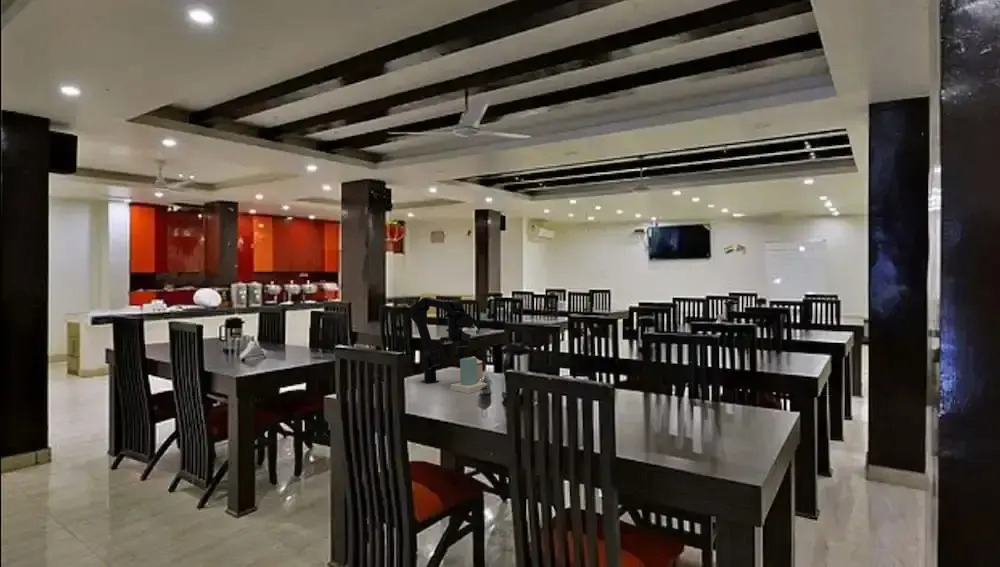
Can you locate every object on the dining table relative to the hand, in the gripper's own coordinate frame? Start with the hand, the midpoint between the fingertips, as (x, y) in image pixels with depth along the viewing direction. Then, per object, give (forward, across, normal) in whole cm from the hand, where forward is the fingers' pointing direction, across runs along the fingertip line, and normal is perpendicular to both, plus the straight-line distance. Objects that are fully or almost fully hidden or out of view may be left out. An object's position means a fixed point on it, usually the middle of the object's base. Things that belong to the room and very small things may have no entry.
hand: (454, 359), depth 285 cm
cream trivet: (+13, -10, -1) cm, 16 cm away
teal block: (+10, -10, -1) cm, 15 cm away
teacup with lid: (+13, +8, -15) cm, 22 cm away
